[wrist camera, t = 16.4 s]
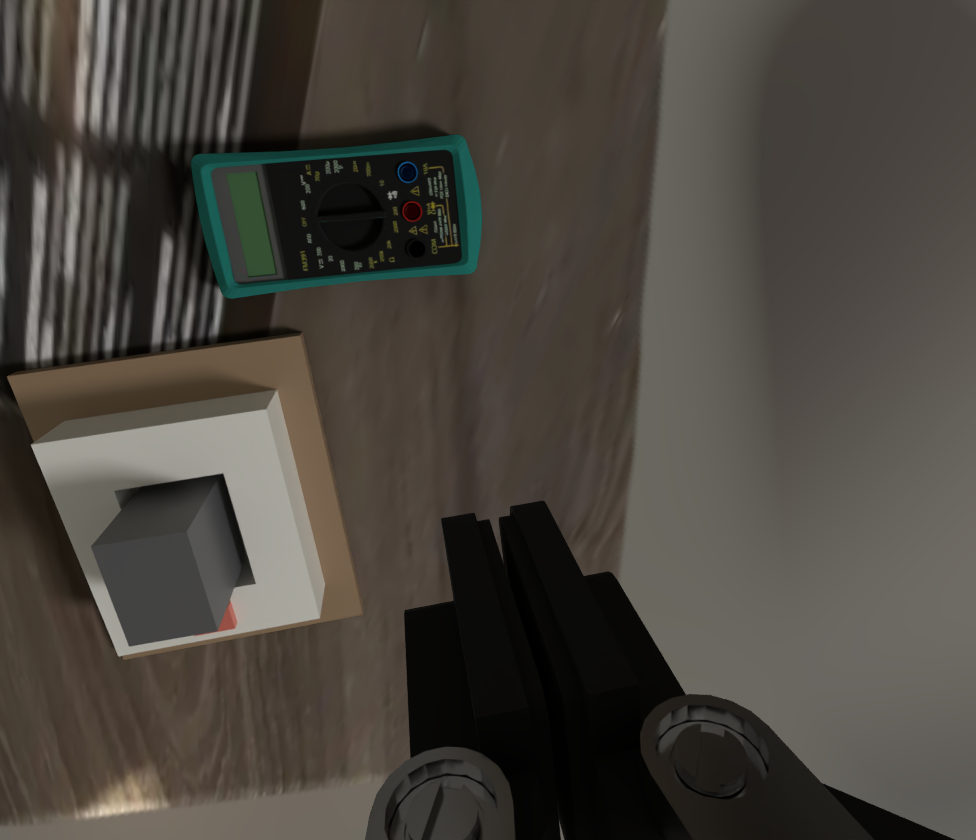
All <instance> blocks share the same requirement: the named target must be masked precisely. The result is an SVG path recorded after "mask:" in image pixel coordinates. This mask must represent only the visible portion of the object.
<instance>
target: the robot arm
mask: <svg viewBox="0 0 976 840" xmlns="http://www.w3.org/2000/svg"><path fill="white" fill-rule="evenodd" d="M441 522H442V528H443V535H444V541H445V547H446V554H447V560H448V567H449V573H450V579H451V586H452V592H453V599H454V601H451V602H445V603H440V604H435V605H430V606H424V607H419V608H414V609H408V610H405V612H404V621H405V643H406V666H407V688H408V711H409V733H410V756H411V759H409V760H407V761H405V762H404V763H403V764H402V765H401V766H400V767H398V768H397V769H396V770H395V771H394V772H393V773H392V774H390V775H389V777H388V778H387V780H386V781H385V783H384V784H383V785H382V787H381V788H380V790H379V791H378V793H377V795H376V798H375V801H374V803H373V806H372V810H371V812H370V816H369V821H368V827H367V832H366V838H365V840H561V837H560V826H559V821H560V825H561V828H562V832H563V836H564V839H565V840H954V839H952V838H950V837H947V836H945V835H943V834H940V833H938V832H935V831H933V830H931V829H928V828H926V827H924V826H921V825H919V824H917V823H914V822H912V821H910V820H907V819H905V818H902V817H900V816H898V815H896V814H893V813H891V812H889V811H886V810H884V809H882V808H879V807H877V806H874V805H872V804H869V803H867V802H865V801H863V800H860V799H858V798H856V797H853V796H851V795H849V794H846V793H844V792H842V791H839V790H837V789H834V788H832V787H830V786H827V785H825V784H823V783H821V782H820V781H819V780H818V779H817V777H816V776H815V775H814V774H813V773H812V772H811V771H810V770H809V769H808V768H807V767H806V766H805V765H804V763H803V762H802V761H801V760H800V759H799V758H798V757H797V756H796V755H795V754H794V753H793V752H792V751H791V750H790V749H789V747H788V746H786V744H785V743H784V742H783V741H782V740H781V739H780V738H779V737H778V736H777V734H776V733H775V732H774V731H773V730H772V729H771V728H770V727H769V726H768V725H767V724H766V723H765V722H763V721H762V720H761V719H760V718H759V717H758V716H756V715H755V714H754V713H753V712H752V711H750V710H748V709H746V708H744V707H742V706H740V705H738V704H737V703H735V702H733V701H730V700H727V699H723V698H719V697H716V696H712V695H698V694H688V695H686V694H685V693H684V691H683V689H682V688H681V686H680V684H679V682H678V681H677V679H676V677H675V676H674V674H673V673H672V671H671V669H670V667H669V666H668V664H667V663H666V661H665V659H664V657H663V656H662V654H661V652H660V651H659V649H658V647H657V646H656V644H655V642H654V641H653V639H652V637H651V636H650V634H649V632H648V631H647V629H646V627H645V626H644V624H643V622H642V621H641V619H640V617H639V616H638V614H637V612H636V611H635V609H634V607H633V606H632V604H631V602H630V601H629V599H628V597H627V596H626V594H625V592H624V591H623V589H622V587H621V586H620V584H619V582H618V581H617V579H616V578H615V576H614V575H613V574H612V573H610V572H603V573H598V574H593V575H587V576H583V574H582V572H581V570H580V568H579V566H578V564H577V562H576V560H575V559H574V557H573V555H572V553H571V551H570V549H569V547H568V545H567V543H566V541H565V539H564V537H563V535H562V533H561V531H560V530H559V528H558V526H557V524H556V522H555V520H554V518H553V516H552V514H551V512H550V510H549V508H548V506H547V504H546V503H545V501H538V502H533V503H527V504H521V505H515V506H511V507H510V516H504V517H499V527H500V536H501V544H502V553H503V561H504V564H503V561H502V558H501V555H500V551H499V548H498V545H497V542H496V539H495V536H494V533H493V529H492V526H491V523H490V520H489V519H487V520H482V521H477V520H476V516H475V513H470V514H464V515H458V516H453V517H447V518H441Z"/></svg>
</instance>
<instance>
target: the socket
mask: <svg viewBox="0 0 976 840" xmlns="http://www.w3.org/2000/svg"><path fill="white" fill-rule="evenodd" d="M7 378H8V380H9V383H10V385H11V388H12V390H13V393H14V395H15V397H16V400H17V402H18V405H19V407H20V410H21V412H22V414H23V417H24V419H25V422H26V424H27V427H28V429H29V431H30V434H31V436H32V439H33V441H34V443H33V444H31V447H32V449H33V451H34V454H35V456H36V459H37V461H38V464H39V466H40V468H41V471H42V473H43V476H44V478H45V480H46V483H47V485H48V488H49V490H50V492H51V495H52V497H53V500H54V502H55V504H56V507H57V509H58V512H59V514H60V517H61V519H62V521H63V524H64V526H65V529H66V531H67V533H68V536H69V538H70V541H71V543H72V545H73V548H74V550H75V553H76V555H77V557H78V560H79V562H80V565H81V567H82V570H83V572H84V574H85V577H86V579H87V582H88V584H89V586H90V589H91V591H92V594H93V596H94V598H95V601H96V603H97V606H98V608H99V610H100V613H101V615H102V618H103V620H104V623H105V625H106V627H107V630H108V632H109V635H110V637H111V639H112V642H113V644H114V647H115V649H116V651H117V654H118V656H122V657H123V659H124V660H125V659H131V658H136V657H141V656H146V655H152V654H157V653H162V652H167V651H173V650H178V649H183V648H189V647H194V646H199V645H204V644H210V643H215V642H220V641H226V640H231V639H236V638H241V637H247V636H252V635H257V634H263V633H268V632H273V631H278V630H284V629H289V628H294V627H300V626H305V625H310V624H315V623H321V622H326V621H331V620H336V619H342V618H347V617H352V616H358V615H363V602H362V598H361V593H360V589H359V584H358V580H357V575H356V571H355V566H354V562H353V557H352V553H351V548H350V544H349V539H348V535H347V530H346V526H345V521H344V517H343V512H342V508H341V503H340V499H339V494H338V490H337V485H336V481H335V476H334V472H333V467H332V463H331V458H330V454H329V450H328V445H327V441H326V436H325V432H324V427H323V423H322V418H321V414H320V409H319V405H318V400H317V396H316V391H315V387H314V382H313V378H312V373H311V369H310V364H309V360H308V355H307V351H306V346H305V342H304V337H303V333H302V332H299V333H291V334H284V335H277V336H270V337H262V338H255V339H248V340H241V341H234V342H226V343H219V344H212V345H205V346H198V347H190V348H183V349H176V350H169V351H161V352H154V353H147V354H140V355H133V356H125V357H118V358H111V359H104V360H97V361H89V362H82V363H75V364H68V365H60V366H53V367H46V368H39V369H32V370H24V371H17V372H15V373H13V374H11V375H9V376H7ZM222 473H223V475H224V479H225V481H226V484H227V487H228V493H229V497H230V500H231V504H232V508H233V511H234V515H235V518H236V522H237V526H238V529H239V533H240V536H241V540H242V544H243V547H244V551H245V554H246V559H245V562H244V564H243V567H242V569H241V572H240V575H239V577H238V580H237V582H236V585H235V588H234V590H233V593H232V595H231V598H230V601H229V603H228V606H227V609H226V611H225V614H224V616H223V619H222V622H221V624H220V627H219V629H218V631H216V632H210V633H205V634H199V635H193V636H187V637H182V638H176V639H170V640H165V641H159V642H153V643H147V644H142V645H136V646H130V647H129V645H128V643H127V640H126V637H125V635H124V632H123V630H122V627H121V624H120V622H119V619H118V617H117V614H116V611H115V609H114V606H113V603H112V601H111V598H110V596H109V593H108V590H107V588H106V585H105V583H104V580H103V577H102V575H101V572H100V569H99V567H98V564H97V562H96V559H95V556H94V554H93V551H92V549H91V546H92V545H93V543H94V542H95V541H96V540H97V539H98V537H99V536H100V535H101V534H102V533H103V531H104V530H105V529H106V528H107V527H108V525H109V524H110V523H111V522H112V521H113V519H114V518H115V517H116V516H117V515H118V513H119V512H120V511H121V510H122V509H123V507H124V506H125V505H126V504H127V503H128V501H129V500H130V499H131V498H132V497H133V495H134V494H135V493H136V492H137V491H138V489H139V488H140V487H141V486H147V485H154V484H160V483H166V482H172V481H178V480H185V479H191V478H197V477H203V476H210V475H216V474H222Z"/></svg>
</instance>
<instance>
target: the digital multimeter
mask: <svg viewBox="0 0 976 840" xmlns="http://www.w3.org/2000/svg"><path fill="white" fill-rule="evenodd" d="M432 150H434V151H432ZM420 151H421V152H420ZM407 152H408V153H407ZM220 167H221V168H220ZM191 168H192V175H193V182H194V189H195V195H196V201H197V206H198V212H199V218H200V222H201V226H202V230H203V235H204V239H205V243H206V246H207V250H208V253H209V256H210V260H211V263H212V266H213V269H214V272H215V275H216V278H217V281H218V284H219V288H220V290H221V292H222V294H223V295H224V296H225V297H227V298H239V297H246V296H252V295H259V294H266V293H273V292H279V291H286V290H293V289H299V288H306V287H315V286H324V285H332V284H341V283H349V282H358V281H368V280H381V279H394V278H408V277H421V276H439V275H458V274H470V273H473V272H474V271H475V270H476V267H477V261H478V255H479V248H480V241H481V227H482V209H481V196H480V190H479V186H478V181H477V177H476V173H475V168H474V165H473V162H472V159H471V156H470V152H469V149H468V146H467V143H466V140H465V139H464V138H463V137H462V136H461V135H449V136H441V137H433V138H426V139H418V140H410V141H402V142H392V143H383V144H373V145H364V146H354V147H345V148H329V149H313V150H298V151H282V152H250V153H216V154H198V155H195V156H194V157H193V158H192V160H191ZM454 172H455V173H454ZM358 180H359V181H358ZM331 182H332V183H331ZM365 183H366V184H365ZM455 183H456V184H455ZM325 186H326V187H325ZM372 188H373V189H372ZM457 204H458V205H457ZM384 206H385V207H384ZM458 215H459V216H458ZM386 219H387V222H386ZM459 226H460V227H459ZM328 245H329V246H328ZM334 249H335V250H334ZM341 252H342V253H341ZM451 263H453V264H451ZM442 264H443V265H442ZM432 265H434V266H432ZM422 266H424V267H422ZM412 267H413V268H412ZM402 268H403V269H402ZM232 271H233V272H232ZM233 275H234V277H233Z"/></svg>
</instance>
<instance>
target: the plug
mask: <svg viewBox="0 0 976 840" xmlns="http://www.w3.org/2000/svg"><path fill="white" fill-rule="evenodd" d="M91 549H92V551H93V554H94V556H95V559H96V562H97V564H98V567H99V569H100V572H101V575H102V577H103V580H104V583H105V585H106V588H107V590H108V593H109V596H110V598H111V601H112V603H113V606H114V609H115V611H116V614H117V617H118V619H119V622H120V624H121V627H122V630H123V632H124V635H125V637H126V640H127V643H128V645H129V647H130V646H136V645H142V644H147V643H153V642H159V641H165V640H170V639H176V638H182V637H187V636H193V635H199V634H205V633H210V632H216V631H218V629H219V627H220V624H221V622H222V619H223V616H224V614H225V611H226V609H227V606H228V603H229V601H230V598H231V595H232V593H233V590H234V588H235V585H236V582H237V580H238V577H239V575H240V572H241V569H242V567H243V564H244V562H245V559H246V554H245V551H244V547H243V544H242V540H241V536H240V533H239V529H238V526H237V522H236V518H235V515H234V511H233V508H232V504H231V500H230V497H229V493H228V487H227V484H226V481H225V479H224V475H223V473H222V474H216V475H210V476H203V477H197V478H191V479H185V480H178V481H172V482H166V483H160V484H154V485H147V486H141V487H140V488H139V489H138V491H137V492H136V493H135V494H134V495H133V497H132V498H131V499H130V500H129V501H128V503H127V504H126V505H125V506H124V507H123V509H122V510H121V511H120V512H119V513H118V515H117V516H116V517H115V518H114V519H113V521H112V522H111V523H110V524H109V525H108V527H107V528H106V529H105V530H104V531H103V533H102V534H101V535H100V536H99V537H98V539H97V540H96V541H95V542H94V543H93V545H92V546H91Z"/></svg>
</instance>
